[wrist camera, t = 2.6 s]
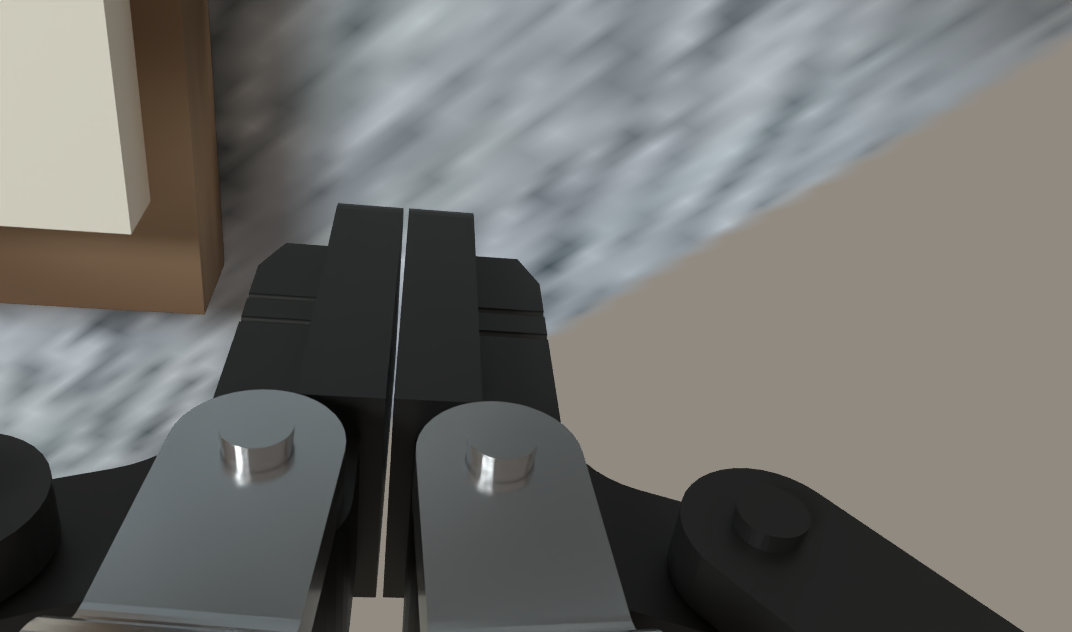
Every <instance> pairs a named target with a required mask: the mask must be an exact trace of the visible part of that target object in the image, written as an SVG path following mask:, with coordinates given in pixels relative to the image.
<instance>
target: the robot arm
mask: <svg viewBox="0 0 1072 632" xmlns="http://www.w3.org/2000/svg"><path fill="white" fill-rule="evenodd" d="M402 232H403V208H393V207H380V206H367V205H354V204H341V203H338V205H337V208H336V213H335V217H334V222H333V226H332V231H331V235H330V240H329V244H328V246H319V245H305V244H291V243H286V244H285V245H283V246H282V247H281V248H280V249H278V250H277V251H276V252H275V253H273V254H272V255H271V256H270V257H268V258H267V259H266V260H265V261H263V262H262V263H261V264H260V265H259V266H258V268H257V271H256V274H255V277H254V280H253V283H252V286H251V289H250V292H249V298H247V301H246V304H245V307H244V310H243V313H242V315H241V322H240V321H239V324H238V327H237V330H236V333H235V336H234V339H233V342H232V345H231V348H230V351H229V354H228V357H227V359H226V362H225V365H224V368H223V371H222V374H221V377H220V380H219V383H218V386H217V389H216V392H215V395H214V398H213V399H211V400H208V401H206V402H204V403H202V404H200V405H198V406H196V407H194V408H193V409H191V410H190V411H189V412H187V413H186V414H185V415H183V416H182V417H181V418H180V419H179V420H178V421H177V422H176V423H175V424H174V426H173V427H172V429H171V430H170V432H169V434H168V435H167V437H166V439H165V441H164V443H163V445H162V447H161V449H160V451H159V453H158V455H157V456H154V457H152V458H150V459H147V460H144V461H141V462H138V463H135V464H131V465H127V466H123V467H118V468H114V469H108V470H102V471H97V472H91V473H85V474H79V475H73V476H68V477H62V478H56V479H52V475H51V471H50V467H49V464H48V462H47V460H46V459H45V457H44V456H43V454H42V453H41V452H39V451H38V450H37V449H36V448H35V447H34V446H32V445H30V444H29V443H27V442H25V441H23V440H20V439H17V438H15V437H12V436H8V435H3V434H0V632H349V626H350V616H351V608H352V598H353V597H376V588H377V575H378V564H379V552H380V540H381V528H382V516H383V503H384V492H385V480H386V468H387V455H388V444H389V432H390V419H391V407H392V395H393V383H394V370H395V356H396V340H397V323H398V305H399V287H400V269H401V251H402ZM543 312H544V311H543V304H542V298H541V291H540V285H539V283H538V282H537V281H536V280H535V279H534V277H533V276H532V275H531V274H530V273H529V272H528V271H527V270H526V269H525V267H524V266H523V265H522V264H521V263H520V262H519V261H518V260H517V259H506V258H492V257H478V256H476V253H475V232H474V215H473V213H461V212H448V211H435V210H422V209H409V218H408V231H407V243H406V256H405V268H404V281H403V293H402V306H401V318H400V331H399V343H398V356H397V368H396V381H395V393H394V409H393V427H392V445H391V463H390V481H389V499H388V518H387V536H386V553H385V571H384V589H383V597H395V598H404V612H403V613H404V614H403V631H402V632H1023V631H1022V630H1020V629H1019V628H1017V627H1016V626H1014V625H1013V624H1012V623H1010V622H1009V621H1007V620H1006V619H1004V618H1003V617H1001V616H1000V615H998V614H997V613H995V612H994V611H992V610H991V609H989V608H988V607H986V606H985V605H983V604H982V603H980V602H979V601H977V600H976V599H974V598H973V597H971V596H970V595H968V594H967V593H965V592H964V591H963V590H961V589H960V588H958V587H957V586H955V585H954V584H952V583H950V582H949V581H948V580H946V579H945V578H943V577H942V576H940V575H939V574H937V573H936V572H934V571H933V570H931V569H930V568H928V567H927V566H925V565H924V564H922V563H921V562H919V561H918V560H917V559H915V558H914V557H912V556H910V555H909V554H908V553H906V552H905V551H903V550H902V549H900V548H899V547H897V546H896V545H894V544H893V543H891V542H890V541H888V540H887V539H885V538H884V537H882V536H881V535H879V534H878V533H876V532H875V531H873V530H872V529H870V528H869V527H868V526H866V525H864V524H863V523H862V522H860V521H859V520H857V519H856V518H854V517H852V516H851V515H850V514H848V513H847V512H845V511H844V510H842V509H841V508H839V507H838V506H836V505H835V504H833V503H832V502H830V501H829V500H827V499H826V498H824V497H823V496H822V495H820V494H819V493H817V492H815V491H814V490H812V489H810V488H809V487H807V486H805V485H803V484H801V483H799V482H797V481H795V480H793V479H791V478H788V477H785V476H782V475H779V474H776V473H772V472H768V471H764V470H757V469H749V468H732V469H725V470H719V471H716V472H712V473H709V474H707V475H705V476H703V477H701V478H699V479H698V480H697V481H695V482H694V483H693V484H692V485H691V486H690V487H689V488H688V489H687V491H686V492H685V494H684V496H683V499H682V501H681V502H680V501H677V500H673V499H669V498H666V497H662V496H659V495H655V494H651V493H648V492H644V491H640V490H637V489H634V488H631V487H628V486H625V485H622V484H620V483H618V482H616V481H613V480H611V479H609V478H607V477H605V476H604V475H602V474H600V473H599V472H597V471H595V470H594V469H593V468H591V467H590V466H589V465H587V464H586V461H585V458H584V455H583V451H582V449H581V447H580V444H579V442H578V441H577V440H576V438H575V437H574V435H573V434H572V433H571V432H570V431H569V430H568V429H567V428H566V427H565V426H564V425H563V424H561V421H560V414H559V408H558V401H557V395H556V388H555V382H554V376H553V369H552V363H551V357H550V350H549V343H548V340H547V330H546V324H545V317H543Z"/></svg>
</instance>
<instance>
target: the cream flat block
mask: <svg viewBox="0 0 1072 632" xmlns="http://www.w3.org/2000/svg"><path fill="white" fill-rule="evenodd" d="M149 203H150V191H149V182H148V172H147V163H146V153H145V144H144V134H143V125H142V115H141V106H140V96H139V87H138V77H137V68H136V58H135V49H134V39H133V30H132V20H131V11H130V1H129V0H0V226H10V227H25V228H40V229H55V230H70V231H85V232H101V233H116V234H132V232H133V231H134V229H135V227H136V225H137V224H138V222H139V220H140V219H141V217H142V215H143V213H144V212H145V210H146V208H147V207H148V205H149Z"/></svg>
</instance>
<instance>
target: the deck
mask: <svg viewBox="0 0 1072 632" xmlns="http://www.w3.org/2000/svg"><path fill="white" fill-rule="evenodd" d="M129 1H130V11H131V20H132V30H133V39H134V49H135V58H136V68H137V77H138V87H139V96H140V106H141V115H142V125H143V134H144V144H145V153H146V163H147V172H148V182H149V191H150V203H149V205H148V207H147V208H146V210H145V212H144V213H143V215H142V217H141V219H140V220H139V222H138V224H137V225H136V227H135V229H134V231H133V232H132V234H116V233H101V232H85V231H70V230H55V229H40V228H25V227H10V226H0V303H9V304H27V305H45V306H62V307H80V308H98V309H115V310H133V311H151V312H169V313H186V314H204V315H205V312H206V310H207V307H208V305H209V302H210V299H211V297H212V294H213V292H214V289H215V287H216V284H217V282H218V279H219V276H220V274H221V271H222V269H223V266H224V249H223V233H222V217H221V201H220V185H219V169H218V153H217V137H216V121H215V105H214V89H213V73H212V57H211V41H210V25H209V9H208V0H129Z"/></svg>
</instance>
